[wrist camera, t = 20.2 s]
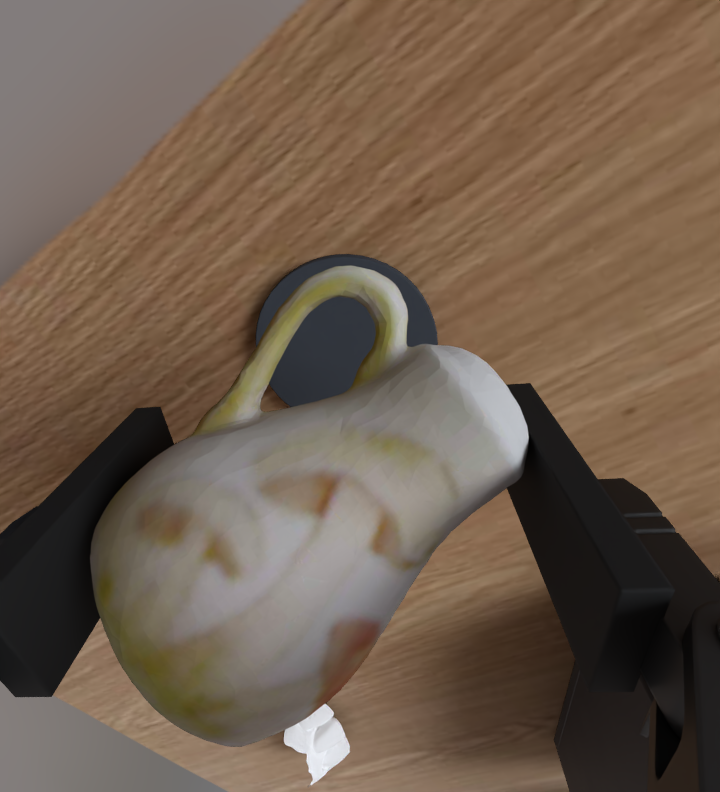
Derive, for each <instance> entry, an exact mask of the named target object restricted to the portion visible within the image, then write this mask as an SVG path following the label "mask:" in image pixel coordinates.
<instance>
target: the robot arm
mask: <svg viewBox="0 0 720 792" xmlns="http://www.w3.org/2000/svg"><path fill="white" fill-rule="evenodd" d="M506 386H507V387H508V388H509V390H510V392H511V394H512V395H513V397H514V398H515V400H516V401H517V403H518V405H519V406H520V408H521V411H522V414H523V416H524V419H525V422H526V424H527V428H528V436H529V445H528V452H527V456H526V460H525V465H524V472H523V474H522V476H521V478H520V479H519V480H518V481H517V482H516V483H514V484H512V485H510V486H509V487H507V489H508V492H509V494H510V497H511V499H512V502H513V504H514V507H515V509H516V512H517V514H518V517H519V519H520V522H521V524H522V527H523V529H524V532H525V534H526V537H527V539H528V542H529V544H530V547H531V549H532V552H533V554H534V557H535V559H536V562H537V564H538V567H539V569H540V572H541V574H542V577H543V579H544V582H545V584H546V587H547V589H548V592H549V594H550V597H551V599H552V602H553V604H554V607H555V609H556V612H557V614H558V617H559V619H560V622H561V624H562V627H563V629H564V632H565V634H566V637H567V639H568V642H569V644H570V647H571V649H572V652H573V654H574V657H575V659H576V662H577V664H578V667H579V669H580V672H581V674H582V677H583V679H584V682H585V684H586V687H587V689H588V691H589V692H634V690H635V688H636V685H637V683H638V680H639V678H640V675H641V673H642V675H643V677H644V679H645V681H646V683H647V685H648V687H649V689H650V691H651V693H652V695H653V696H654V700H653V702H652V705H651V707H650V709H649V711H648V713H647V716H646V718H645V720H644V722H643V725H642V728H641V732H640V735H642V736H644V737H646V738H648V735H649V755H648V783H647V792H720V583H719V582H718V581H717V579H716V578H715V577H714V576H713V575H712V573H711V572H710V571H709V570H708V568H707V567H706V566H705V565H704V564H703V562H702V561H701V560H700V559H699V557H698V556H697V555H696V554H695V553H694V551H693V550H692V549H691V548H690V546H689V545H688V544H687V543H686V542H685V540H684V539H683V538H682V537H681V535H680V534H679V533H676V532H675V528H674V527H673V526H672V525H671V523H670V522H669V521H668V520H667V518H666V517H663V516H662V512H661V511H660V510H659V509H658V507H657V506H656V505H655V504H654V503H653V501H652V500H651V499H650V498H649V496H648V495H647V494H646V493H644V492H643V491H641V490H640V489H638V488H637V487H636V486H634V485H633V484H631V483H630V482H628V481H627V480H625V479H624V478H618V479H597V478H596V476H595V475H594V474H593V472H592V471H591V469H590V468H589V466H588V465H587V464H586V462H585V461H584V459H583V458H582V456H581V455H580V454H579V452H578V451H577V449H576V448H575V447H574V445H573V444H572V442H571V441H570V439H569V438H568V437H567V435H566V434H565V432H564V431H563V429H562V428H561V427H560V425H559V424H558V422H557V421H556V419H555V418H554V417H553V415H552V414H551V412H550V411H549V409H548V408H547V407H546V405H545V404H544V402H543V401H542V400H541V398H540V397H539V395H538V394H537V392H536V391H535V390H534V388H533V387H532V385H531V384H530V383H526V384H510V385H506ZM173 445H174V443H173V440H172V437H171V434H170V432H169V429H168V426H167V424H166V421H165V418H164V416H163V413H162V410H161V407H149V408H136V409H135V410H134V411H133V412H132V413H131V414H130V415H129V416H128V417H127V418H126V419H125V420H124V421H123V422H122V423H121V424H120V425H119V426H118V427H117V428H116V429H115V430H114V431H113V432H112V433H111V434H110V435H109V436H108V437H107V438H106V439H105V440H104V441H103V442H102V443H101V444H100V445H99V446H98V447H97V448H96V449H95V450H94V451H93V452H92V453H91V454H90V455H89V456H88V457H87V458H86V459H85V460H84V461H83V462H82V463H81V464H80V465H79V466H78V467H77V468H76V469H75V470H74V471H73V472H72V473H71V474H70V475H69V476H68V477H67V478H66V479H65V480H64V481H63V482H62V483H61V484H60V485H59V486H58V487H57V488H56V489H55V490H54V491H53V492H52V493H51V494H50V495H49V496H48V497H47V498H46V499H45V500H44V501H43V502H42V503H41V504H40V505H39V506H36V507H35V508H33V509H32V510H30V511H29V512H27V513H26V514H24V515H23V516H21V517H20V518H18V519H17V520H15V521H14V522H12V523H11V524H10V525H9V526H8V527H7V528H6V529H5V530H4V531H3V532H2V533H1V534H0V681H1V682H2V683H3V684H4V685H5V686H6V687H7V688H8V689H9V691H10V692H11V693H12V694H13V695H14V696H15V697H52V695H53V694H54V692H55V690H56V689H57V687H58V686H59V684H60V682H61V681H62V679H63V677H64V676H65V674H66V673H67V671H68V669H69V668H70V666H71V664H72V663H73V661H74V660H75V658H76V656H77V655H78V653H79V651H80V650H81V648H82V647H83V645H84V643H85V642H86V640H87V638H88V637H89V635H90V634H91V632H92V630H93V629H94V627H95V625H96V624H97V622H98V621H99V619H100V615H99V612H98V609H97V606H96V602H95V597H94V590H93V583H92V573H91V564H90V554H91V542H92V538H93V534H94V530H95V528H96V525H97V523H98V522H99V520H100V518H101V516H102V514H103V512H104V510H105V509H106V507H107V506H108V504H109V502H110V501H111V500H112V498H113V497H114V496H115V494H116V493H117V492H118V491H119V490H120V489H121V487H122V486H123V485H124V484H125V483H126V482H127V481H128V480H129V479H130V478H131V477H132V476H134V475H135V474H136V473H137V472H138V471H139V470H140V469H141V468H142V467H144V466H145V465H146V464H147V463H148V462H149V461H151V460H152V459H153V458H155V457H156V456H157V455H159V454H160V453H162V452H163V451H165V450H166V449H168V448H169V447H171V446H173Z"/></svg>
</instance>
